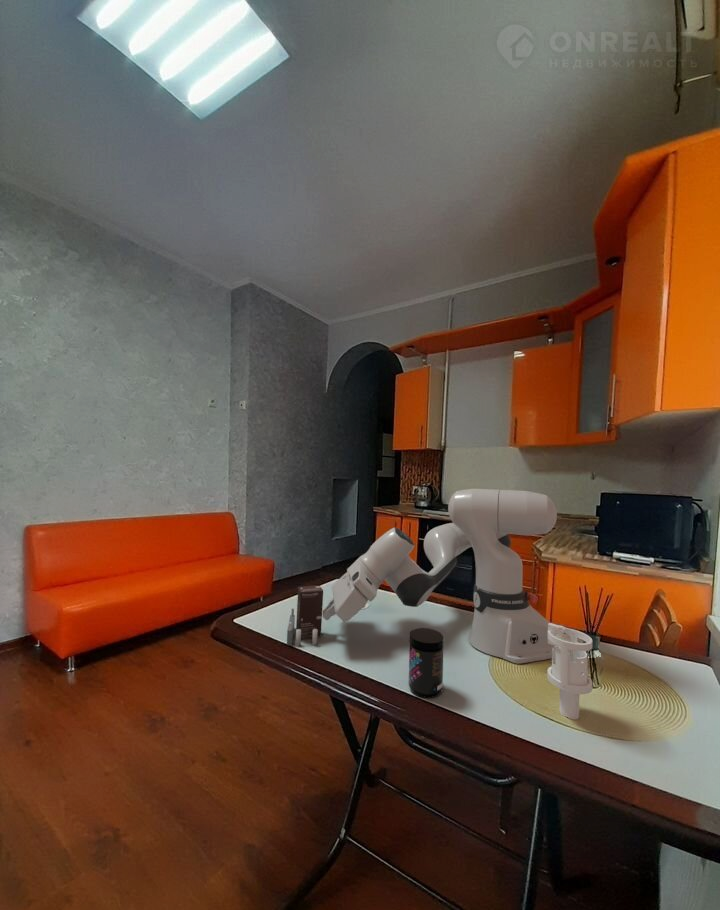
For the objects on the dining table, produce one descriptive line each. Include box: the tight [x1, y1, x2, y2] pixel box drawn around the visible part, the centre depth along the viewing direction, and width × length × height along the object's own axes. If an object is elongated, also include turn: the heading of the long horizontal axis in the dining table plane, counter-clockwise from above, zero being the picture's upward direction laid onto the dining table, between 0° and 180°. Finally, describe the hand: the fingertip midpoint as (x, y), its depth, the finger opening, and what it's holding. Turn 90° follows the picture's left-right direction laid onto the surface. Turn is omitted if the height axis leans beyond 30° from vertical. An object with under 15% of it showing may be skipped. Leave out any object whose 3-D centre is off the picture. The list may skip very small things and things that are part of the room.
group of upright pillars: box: [286, 607, 318, 647], centre depth 92 cm, size 7×10×5 cm
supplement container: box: [408, 627, 445, 699], centre depth 71 cm, size 7×7×10 cm
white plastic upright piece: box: [546, 622, 593, 720], centre depth 65 cm, size 7×7×15 cm
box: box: [295, 585, 324, 640], centre depth 93 cm, size 6×4×12 cm
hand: (324, 616), depth 93 cm, fingers closed
